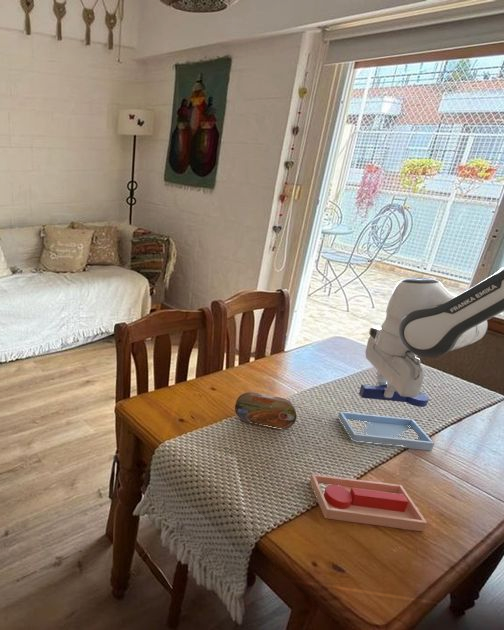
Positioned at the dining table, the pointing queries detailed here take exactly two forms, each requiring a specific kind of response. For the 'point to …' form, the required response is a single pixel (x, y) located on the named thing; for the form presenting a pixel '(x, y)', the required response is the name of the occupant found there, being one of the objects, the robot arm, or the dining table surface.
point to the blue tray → (386, 431)
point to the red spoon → (364, 498)
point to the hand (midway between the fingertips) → (383, 392)
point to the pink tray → (366, 514)
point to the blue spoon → (376, 393)
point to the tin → (265, 410)
